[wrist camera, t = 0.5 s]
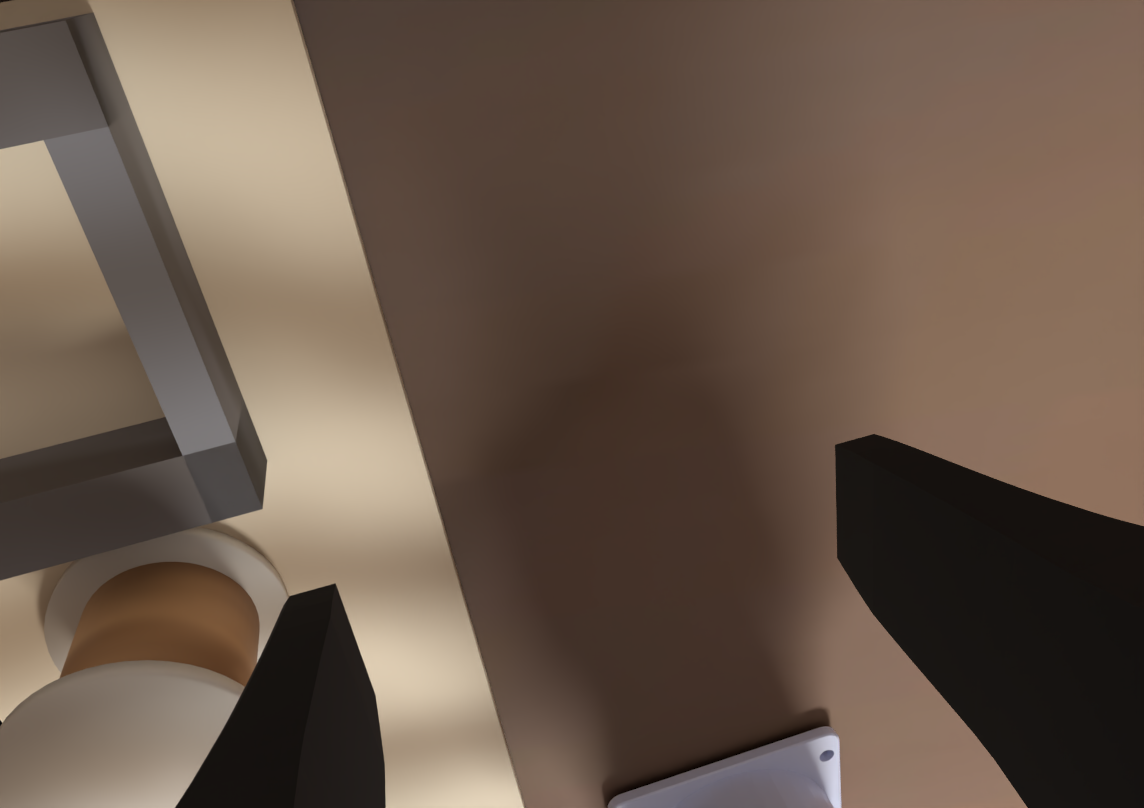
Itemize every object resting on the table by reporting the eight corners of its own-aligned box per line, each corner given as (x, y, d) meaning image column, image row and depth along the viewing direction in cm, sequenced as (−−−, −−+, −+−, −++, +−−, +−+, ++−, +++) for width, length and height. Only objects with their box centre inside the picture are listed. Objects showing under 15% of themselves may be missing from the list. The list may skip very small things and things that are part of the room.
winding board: (534, 838, 29) (581, 1030, 24) (188, 954, 28) (158, 1186, 23) (278, -50, 17) (261, -49, 12) (-375, 73, 15) (-734, 137, 10)
